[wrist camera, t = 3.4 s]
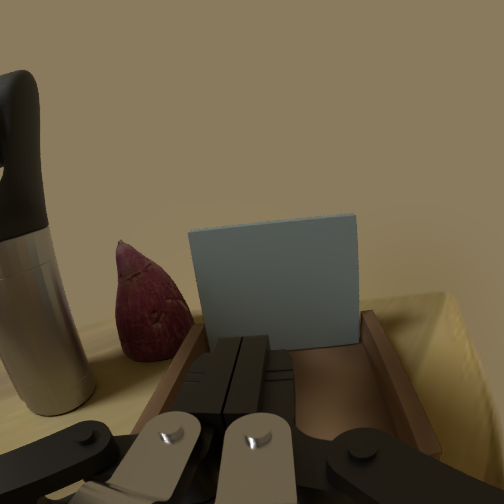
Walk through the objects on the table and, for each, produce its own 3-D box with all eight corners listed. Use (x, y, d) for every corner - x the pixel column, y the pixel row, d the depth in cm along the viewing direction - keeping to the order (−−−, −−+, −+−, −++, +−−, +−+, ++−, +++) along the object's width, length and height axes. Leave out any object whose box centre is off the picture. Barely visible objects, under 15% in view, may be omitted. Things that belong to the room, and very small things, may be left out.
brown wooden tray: (144, 503, 15) (115, 460, 14) (202, 365, 32) (193, 324, 31) (420, 497, 13) (442, 451, 11) (370, 353, 30) (372, 309, 29)
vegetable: (120, 371, 37) (60, 271, 34) (164, 329, 46) (116, 240, 42) (170, 375, 32) (99, 251, 28) (217, 323, 40) (163, 217, 37)
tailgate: (211, 353, 30) (187, 232, 27) (216, 341, 33) (195, 227, 30) (358, 342, 28) (356, 215, 26) (354, 330, 31) (350, 211, 28)
